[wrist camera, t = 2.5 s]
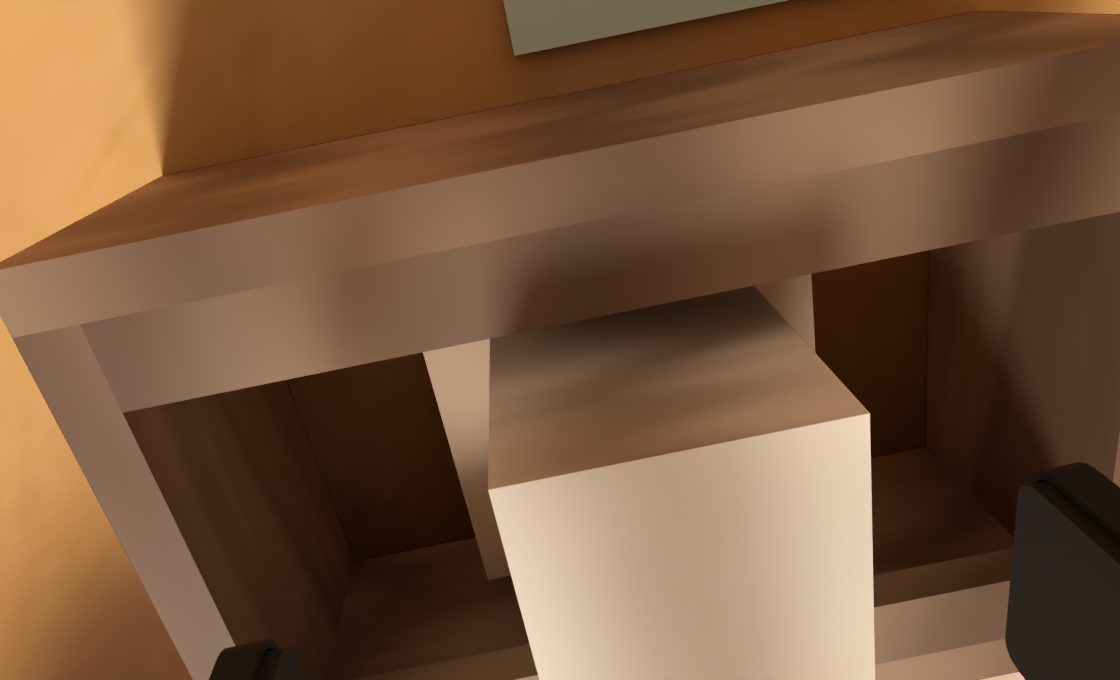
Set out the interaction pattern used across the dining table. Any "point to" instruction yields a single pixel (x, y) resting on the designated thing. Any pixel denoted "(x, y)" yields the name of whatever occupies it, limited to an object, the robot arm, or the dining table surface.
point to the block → (683, 496)
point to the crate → (587, 292)
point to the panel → (602, 18)
